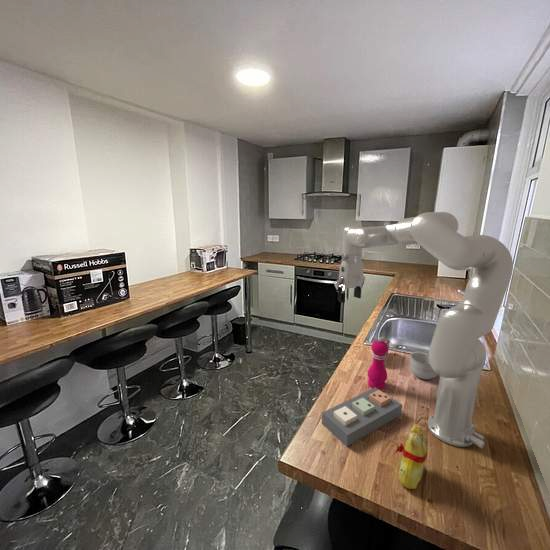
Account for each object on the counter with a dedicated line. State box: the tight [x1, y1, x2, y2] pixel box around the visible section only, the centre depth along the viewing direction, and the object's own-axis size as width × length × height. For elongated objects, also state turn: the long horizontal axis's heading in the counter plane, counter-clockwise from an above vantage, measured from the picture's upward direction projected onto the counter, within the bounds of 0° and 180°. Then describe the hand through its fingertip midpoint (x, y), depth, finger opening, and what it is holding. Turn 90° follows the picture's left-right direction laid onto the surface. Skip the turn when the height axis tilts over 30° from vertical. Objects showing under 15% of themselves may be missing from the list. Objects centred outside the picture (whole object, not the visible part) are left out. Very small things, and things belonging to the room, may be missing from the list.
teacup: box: [409, 351, 440, 380], centre depth 118 cm, size 14×11×8 cm
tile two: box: [352, 398, 375, 417], centre depth 94 cm, size 5×5×4 cm
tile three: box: [369, 390, 392, 407], centre depth 98 cm, size 5×5×4 cm
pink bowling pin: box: [367, 336, 389, 391], centre depth 111 cm, size 7×7×20 cm
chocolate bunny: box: [394, 424, 428, 490], centre depth 74 cm, size 7×11×15 cm, turn 140°
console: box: [321, 387, 403, 448], centre depth 95 cm, size 11×25×4 cm, turn 122°
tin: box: [383, 338, 391, 356], centre depth 131 cm, size 15×3×8 cm, turn 144°
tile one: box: [333, 406, 357, 427], centre depth 90 cm, size 5×5×4 cm
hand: (349, 299), depth 119 cm, fingers open, 9 cm apart
